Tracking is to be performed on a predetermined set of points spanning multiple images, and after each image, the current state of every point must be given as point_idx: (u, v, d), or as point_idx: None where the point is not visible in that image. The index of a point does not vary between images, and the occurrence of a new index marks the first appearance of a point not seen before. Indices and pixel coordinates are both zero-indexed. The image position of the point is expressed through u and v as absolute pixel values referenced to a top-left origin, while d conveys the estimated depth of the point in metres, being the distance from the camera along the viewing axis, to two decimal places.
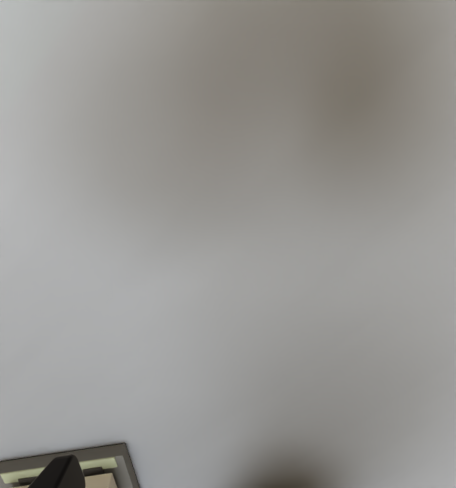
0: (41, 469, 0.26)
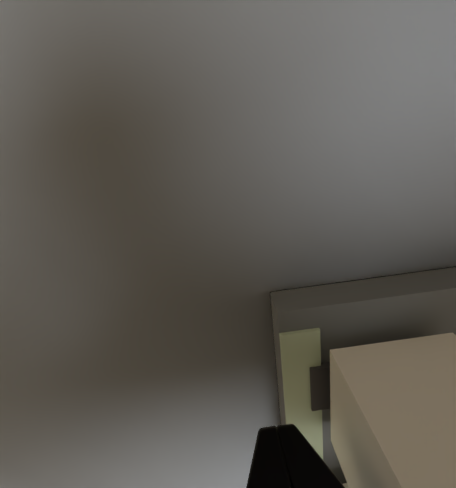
0: None
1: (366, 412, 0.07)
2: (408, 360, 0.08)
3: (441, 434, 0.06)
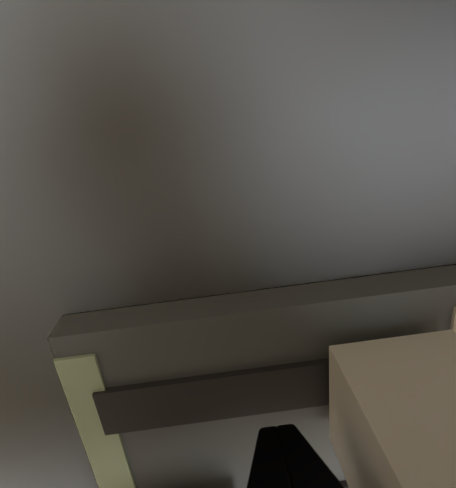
0: None
1: (364, 407, 0.07)
2: (407, 356, 0.08)
3: (438, 429, 0.06)
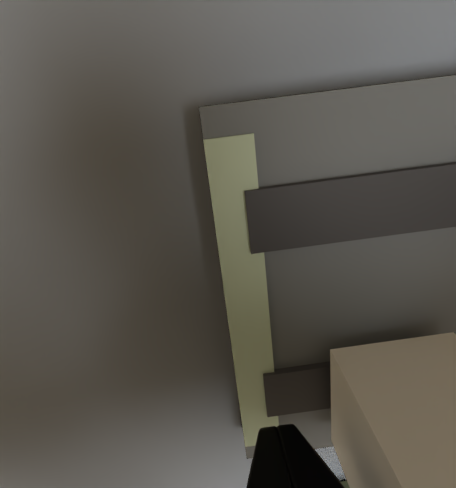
0: (237, 360, 0.09)
1: None
2: None
3: None
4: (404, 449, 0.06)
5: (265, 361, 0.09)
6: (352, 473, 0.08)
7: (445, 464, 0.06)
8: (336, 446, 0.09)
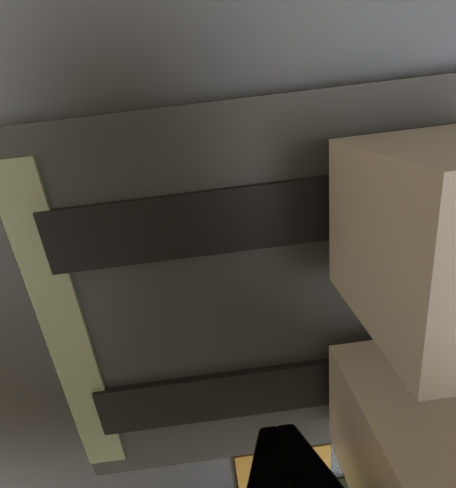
0: (63, 379, 0.09)
1: (377, 150, 0.05)
2: (429, 132, 0.06)
3: None
4: (401, 444, 0.06)
5: (92, 380, 0.09)
6: (350, 469, 0.08)
7: (442, 459, 0.06)
8: (334, 442, 0.09)
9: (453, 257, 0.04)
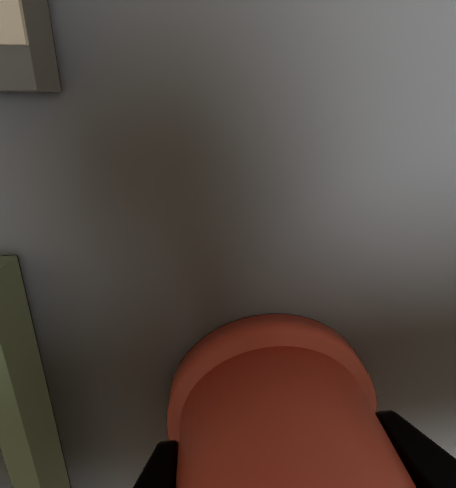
0: None
1: None
2: None
3: None
4: None
5: None
6: None
7: None
8: None
9: None
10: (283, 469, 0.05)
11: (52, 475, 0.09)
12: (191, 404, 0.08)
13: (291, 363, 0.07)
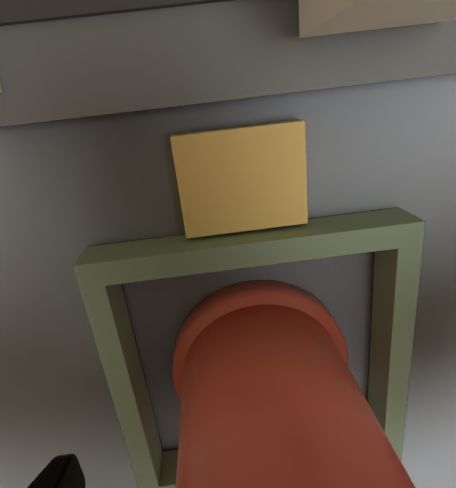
0: None
1: None
2: None
3: None
4: None
5: None
6: None
7: None
8: (305, 17, 0.06)
9: None
10: (263, 381, 0.07)
11: None
12: (193, 351, 0.09)
13: (274, 315, 0.09)
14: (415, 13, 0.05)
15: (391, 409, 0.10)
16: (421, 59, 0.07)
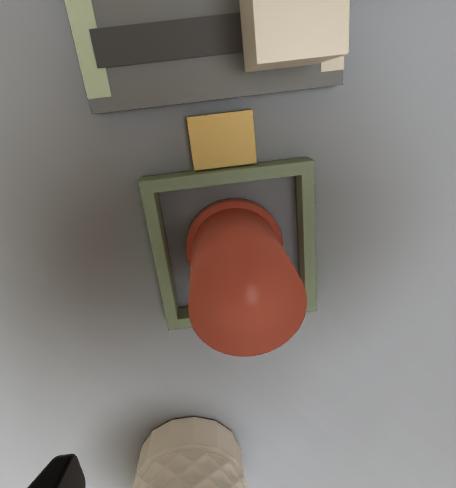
0: (70, 16, 0.14)
1: None
2: None
3: None
4: None
5: (89, 18, 0.14)
6: (247, 48, 0.13)
7: None
8: (245, 64, 0.14)
9: None
10: (230, 226, 0.15)
11: None
12: (197, 231, 0.18)
13: (239, 211, 0.17)
14: (286, 65, 0.14)
15: (307, 272, 0.19)
16: (304, 80, 0.16)
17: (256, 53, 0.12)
